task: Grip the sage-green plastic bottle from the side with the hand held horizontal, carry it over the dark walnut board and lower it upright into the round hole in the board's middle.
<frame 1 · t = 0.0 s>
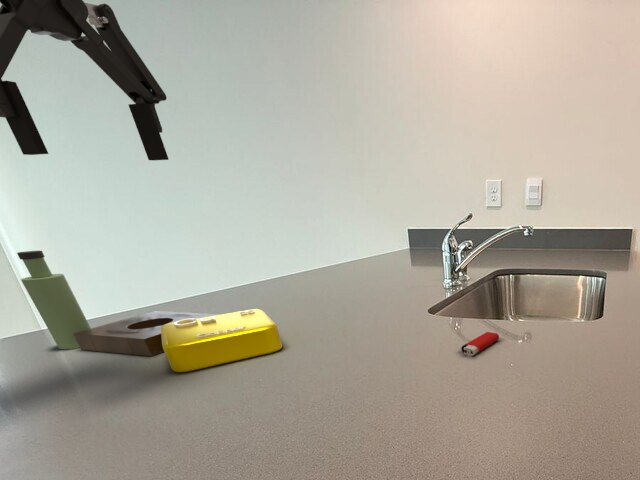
hand: (104, 157, 51), 28 cm above the countertop, tool pointing down, fingers open, 13 cm apart
bottle: (78, 344, 73), on the countertop
element tile: (227, 350, 69), on the countertop
lighter: (479, 348, 67), on the countertop
hole board: (157, 339, 74), on the countertop
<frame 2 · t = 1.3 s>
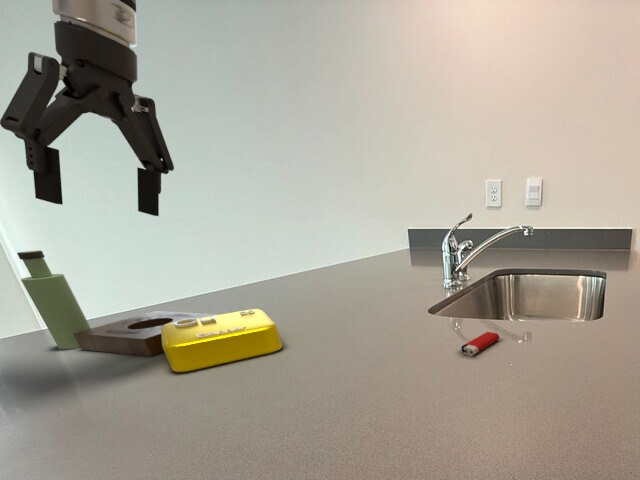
hand: (104, 208, 58), 22 cm above the countertop, tool tilted 20°, fingers open, 13 cm apart
nothing on the countertop moved.
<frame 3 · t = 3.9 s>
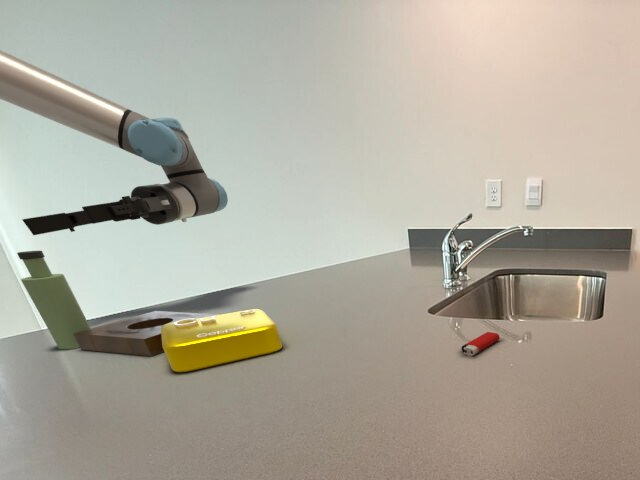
hand: (58, 221, 70), 20 cm above the countertop, tool horizontal, fingers open, 13 cm apart
nothing on the countertop moved.
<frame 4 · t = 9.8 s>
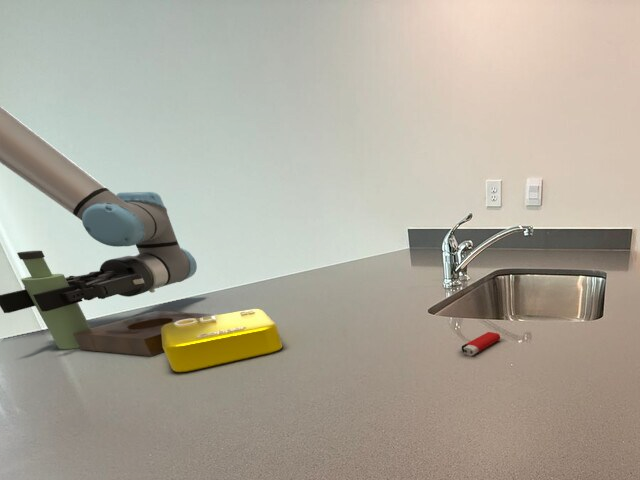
hand: (21, 303, 64), 9 cm above the countertop, tool horizontal, fingers closed on bottle, 5 cm apart
bottle: (78, 344, 73), on the countertop, touching gripper
everything else where it was.
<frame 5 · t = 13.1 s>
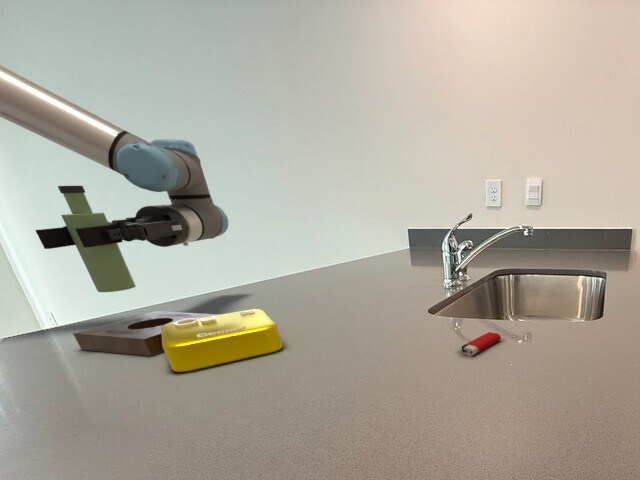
hand: (62, 238, 61), 18 cm above the countertop, tool horizontal, fingers closed on bottle, 5 cm apart
bottle: (117, 288, 70), point 9 cm above the countertop, touching gripper
everything else where it was.
when the fingers open (9 cm above the countertop, at t = 16.2 s): bottle stays where it is, resting in hole board.
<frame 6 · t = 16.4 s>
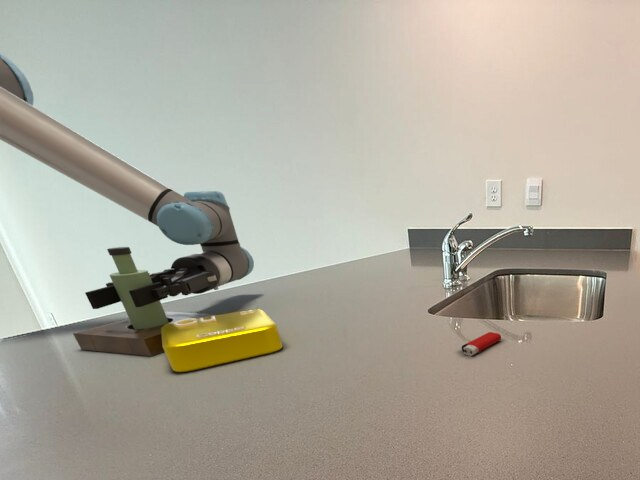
hand: (113, 299, 66), 9 cm above the countertop, tool horizontal, fingers open, 6 cm apart
bottle: (157, 339, 74), resting in hole board
everything else where it was.
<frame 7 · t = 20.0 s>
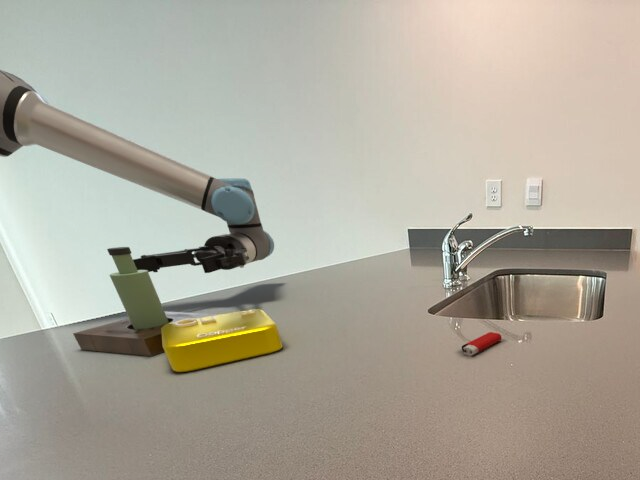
hand: (167, 267, 78), 11 cm above the countertop, tool horizontal, fingers open, 13 cm apart
nothing on the countertop moved.
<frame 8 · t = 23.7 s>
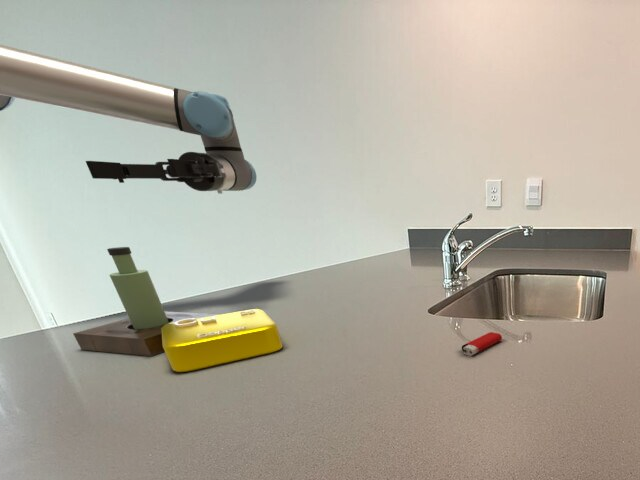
hand: (131, 168, 71), 28 cm above the countertop, tool horizontal, fingers open, 13 cm apart
nothing on the countertop moved.
at the end: bottle 0.0 cm off-centre in the hole board, point 0.0 cm above the hole board's base; bottle tilted 0°; the gripper is holding nothing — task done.
